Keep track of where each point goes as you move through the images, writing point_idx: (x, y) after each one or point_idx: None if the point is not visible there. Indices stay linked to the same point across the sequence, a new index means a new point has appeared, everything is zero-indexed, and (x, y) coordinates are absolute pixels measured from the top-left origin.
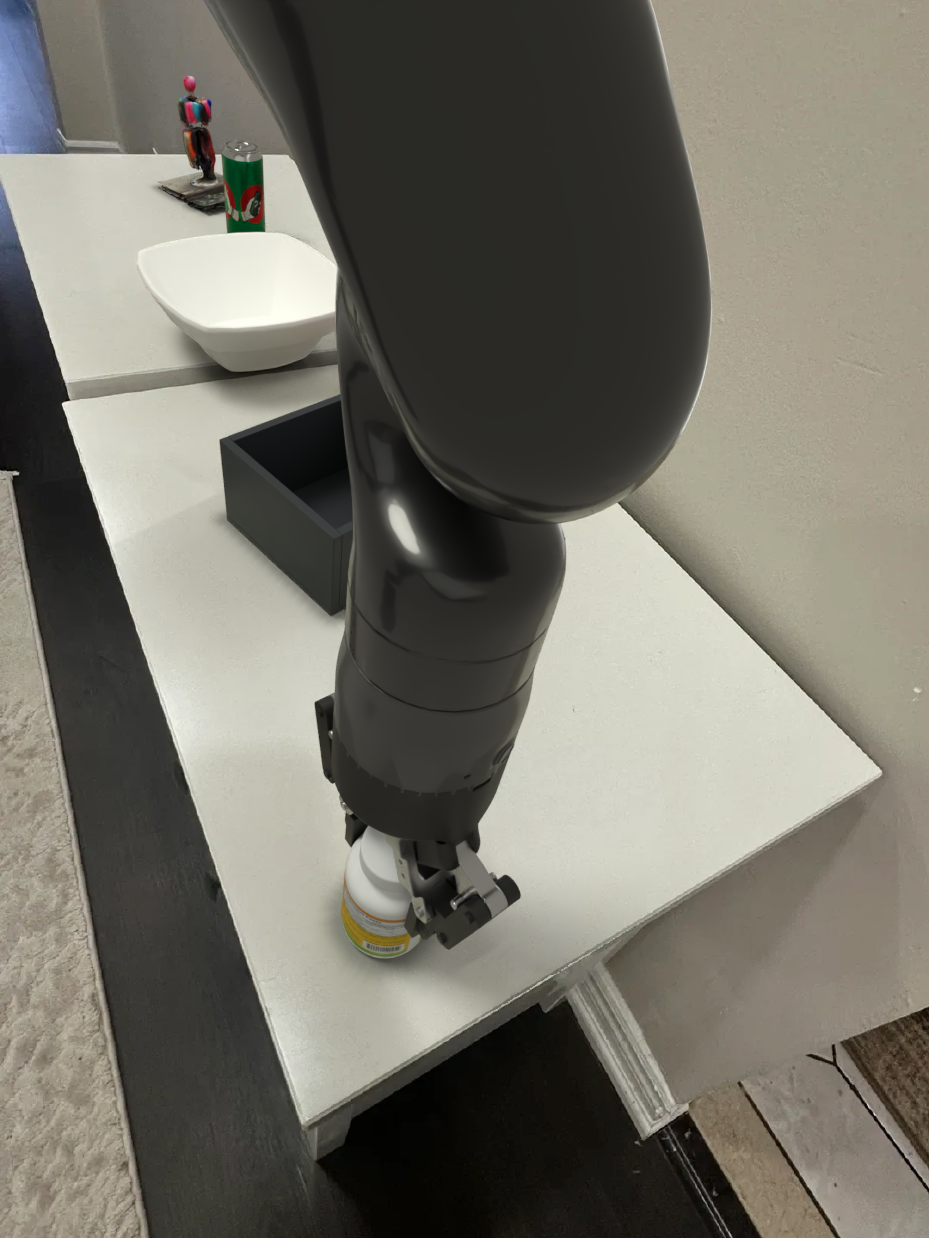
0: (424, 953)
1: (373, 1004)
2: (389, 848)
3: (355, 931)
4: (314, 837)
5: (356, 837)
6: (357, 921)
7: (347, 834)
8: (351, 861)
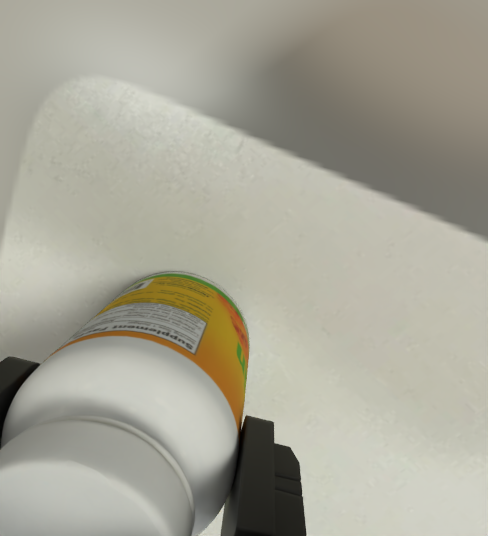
0: None
1: (95, 227)
2: None
3: (161, 289)
4: (360, 356)
5: (241, 453)
6: (145, 305)
7: (264, 444)
8: (192, 410)
